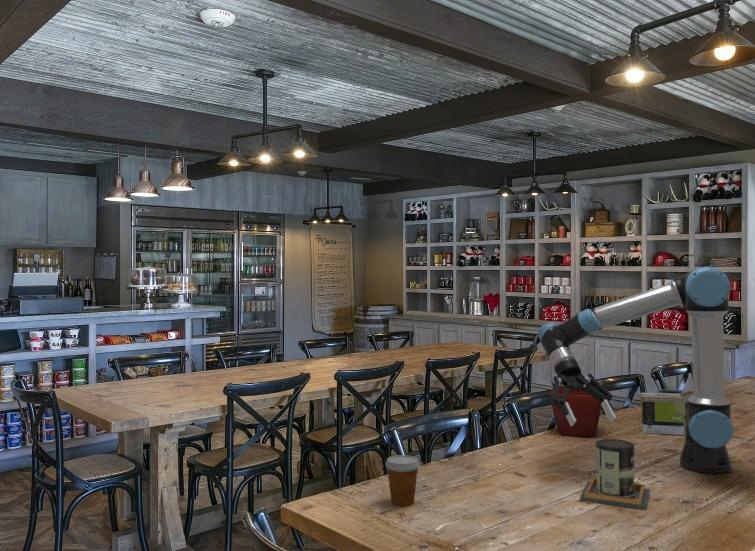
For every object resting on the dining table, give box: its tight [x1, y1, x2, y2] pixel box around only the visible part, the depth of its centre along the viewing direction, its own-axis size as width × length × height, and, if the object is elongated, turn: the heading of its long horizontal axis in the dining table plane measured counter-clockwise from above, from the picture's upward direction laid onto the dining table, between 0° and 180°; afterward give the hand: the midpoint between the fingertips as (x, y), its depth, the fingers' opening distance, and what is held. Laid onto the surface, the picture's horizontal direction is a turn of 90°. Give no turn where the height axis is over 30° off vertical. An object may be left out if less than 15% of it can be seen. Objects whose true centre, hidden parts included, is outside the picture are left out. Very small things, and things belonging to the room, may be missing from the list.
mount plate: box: [579, 477, 651, 510], centre depth 185 cm, size 17×15×2 cm
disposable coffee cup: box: [385, 454, 420, 507], centre depth 183 cm, size 10×10×12 cm
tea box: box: [640, 392, 685, 436], centre depth 259 cm, size 15×10×15 cm
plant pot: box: [549, 385, 602, 438], centre depth 259 cm, size 19×19×17 cm
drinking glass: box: [656, 389, 684, 399], centre depth 280 cm, size 10×10×12 cm
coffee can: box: [595, 438, 635, 498], centre depth 185 cm, size 10×10×14 cm
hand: (593, 421), depth 195 cm, fingers open, 13 cm apart
